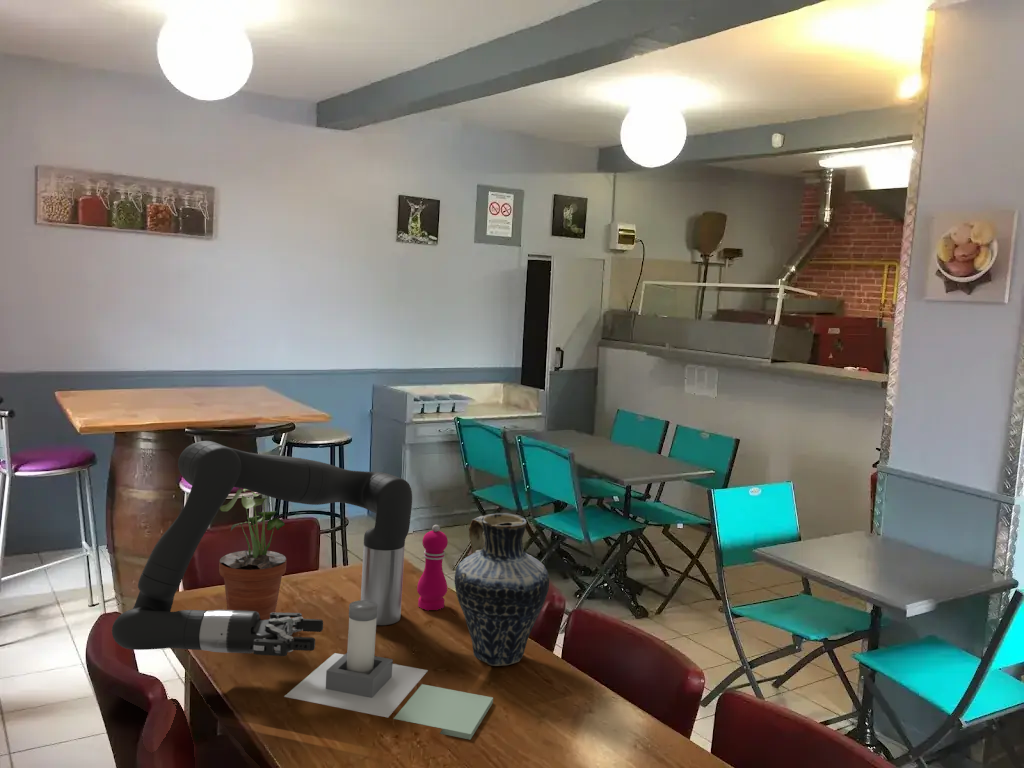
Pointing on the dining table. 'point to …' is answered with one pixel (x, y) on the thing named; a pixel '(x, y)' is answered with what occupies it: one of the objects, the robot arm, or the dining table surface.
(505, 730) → the dining table surface
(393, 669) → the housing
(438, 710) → the mat
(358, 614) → the cartridge
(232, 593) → the potted plant
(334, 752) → the dining table surface
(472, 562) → the jug
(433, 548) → the pepper mill
